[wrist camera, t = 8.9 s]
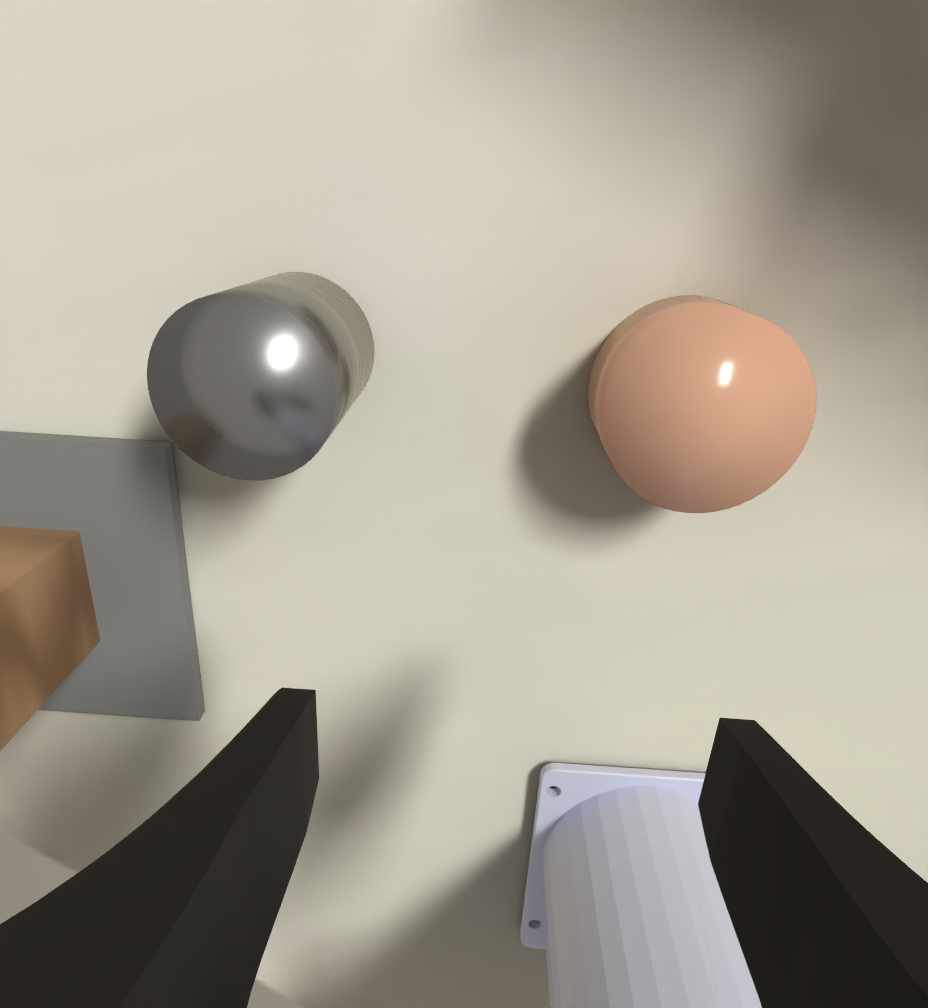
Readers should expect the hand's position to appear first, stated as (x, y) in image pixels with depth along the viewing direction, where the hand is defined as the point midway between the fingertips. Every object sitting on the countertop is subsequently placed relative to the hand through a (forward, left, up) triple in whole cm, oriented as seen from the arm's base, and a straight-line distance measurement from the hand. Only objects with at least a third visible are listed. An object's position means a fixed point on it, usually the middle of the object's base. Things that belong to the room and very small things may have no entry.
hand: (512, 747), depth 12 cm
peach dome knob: (+4, -4, -10) cm, 11 cm away
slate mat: (-3, +15, -9) cm, 18 cm away
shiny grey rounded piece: (+5, +6, -10) cm, 12 cm away
